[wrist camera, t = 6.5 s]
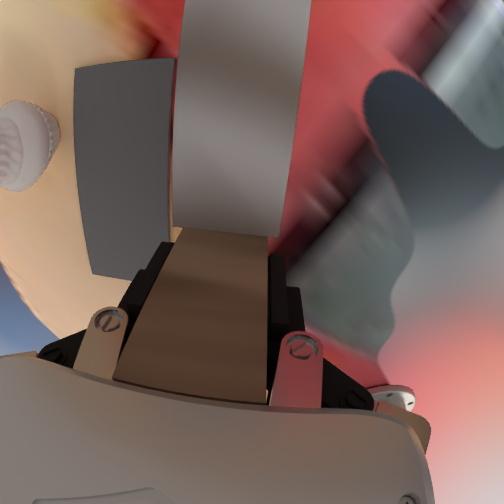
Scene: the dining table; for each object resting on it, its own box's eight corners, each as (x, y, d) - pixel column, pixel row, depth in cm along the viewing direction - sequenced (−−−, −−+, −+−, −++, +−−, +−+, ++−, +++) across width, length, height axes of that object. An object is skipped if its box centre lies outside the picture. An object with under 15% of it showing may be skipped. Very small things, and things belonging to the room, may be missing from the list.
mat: (171, 283, 22) (170, 286, 22) (94, 271, 22) (92, 274, 22) (175, 58, 14) (173, 57, 13) (78, 68, 14) (74, 68, 13)
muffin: (22, 95, 14) (-46, 114, 8) (79, 93, 15) (6, 108, 9) (20, 169, 17) (-39, 205, 11) (74, 178, 18) (11, 221, 12)
